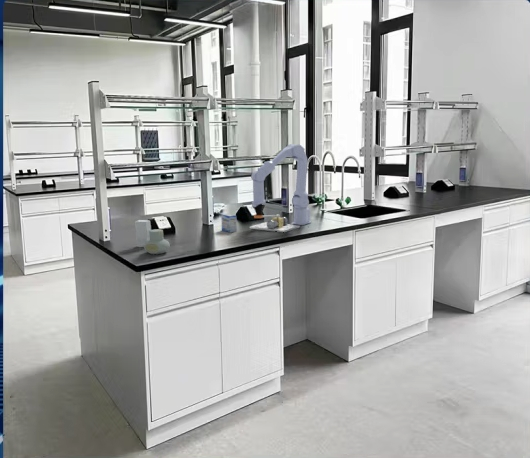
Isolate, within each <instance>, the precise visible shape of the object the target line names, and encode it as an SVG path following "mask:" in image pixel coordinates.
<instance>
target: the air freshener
mask: <svg viewBox="0 0 530 458" xmlns="http://www.w3.org/2000/svg"><path fill="white" fill-rule="evenodd" d="M149 237H150V240H149V241H147V242H146V243H145V245H144V247H143V248H144V250H145V251H146V252H147V253H148V254H151V255H154V254H156V255H161V254H164V253H166V252H167V251H168V250H169V249H170V246H171V245H170V242H169V241H168V240H167V239H165V238H164V230H163V229H161V228H160V229H156V228H155V229H151V230H150V231H149Z"/></svg>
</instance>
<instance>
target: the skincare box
mask: <svg viewBox="0 0 530 458" xmlns="http://www.w3.org/2000/svg"><path fill="white" fill-rule="evenodd" d="M151 224H152V223H151V220H147V219H138V220H135V221H134V227H135V237H136V247H138V248H144V245H145V243H146V242H147V241H149V240H150V237H149V231H150V230H152V225H151Z"/></svg>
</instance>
